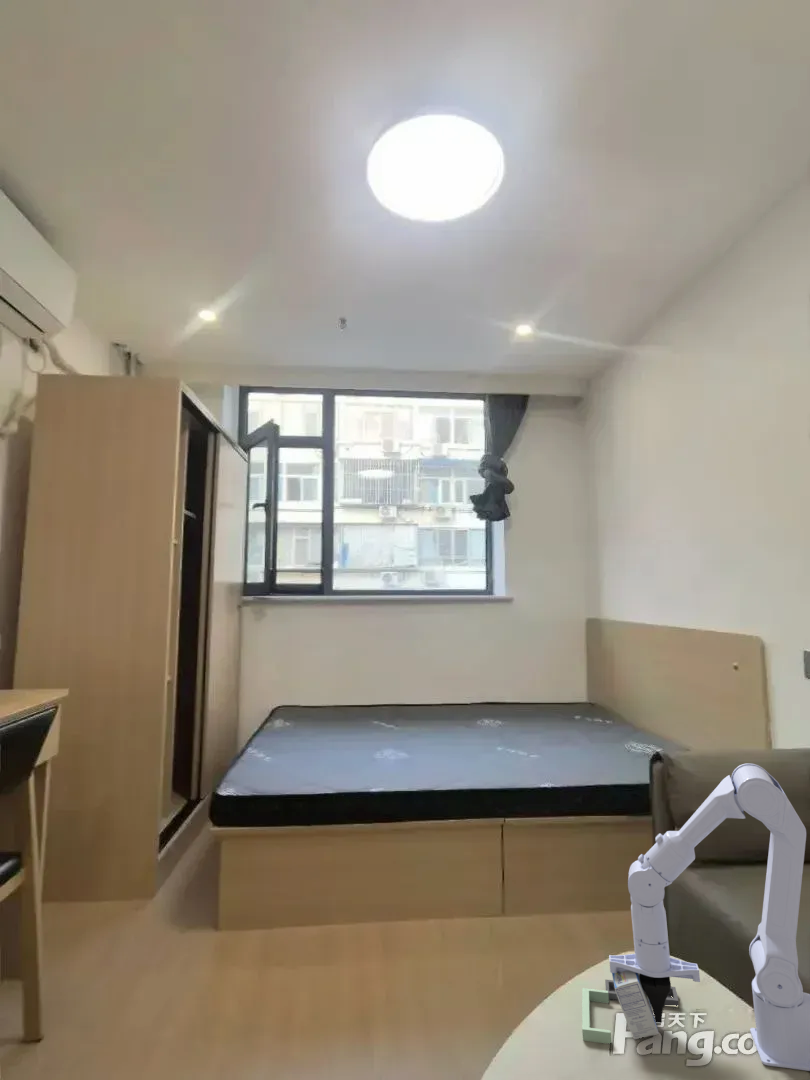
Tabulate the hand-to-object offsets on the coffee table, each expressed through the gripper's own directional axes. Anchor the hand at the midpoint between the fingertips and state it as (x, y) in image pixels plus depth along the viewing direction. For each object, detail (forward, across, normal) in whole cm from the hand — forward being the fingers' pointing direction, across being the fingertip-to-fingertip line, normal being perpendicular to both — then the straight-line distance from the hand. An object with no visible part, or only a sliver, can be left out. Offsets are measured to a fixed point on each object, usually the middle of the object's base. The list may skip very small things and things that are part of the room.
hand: (657, 1018), depth 107 cm
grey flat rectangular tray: (+1, -2, -8) cm, 8 cm away
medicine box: (+1, +2, 0) cm, 3 cm away
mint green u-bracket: (+1, +10, 0) cm, 10 cm away
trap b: (+1, +6, -8) cm, 10 cm away
